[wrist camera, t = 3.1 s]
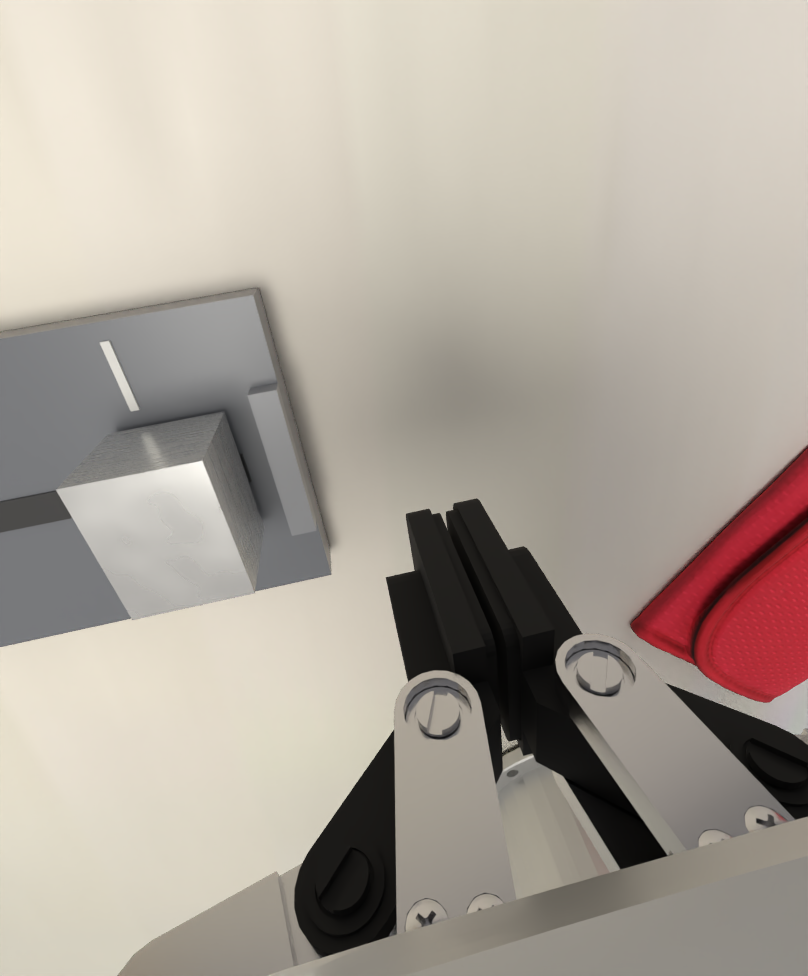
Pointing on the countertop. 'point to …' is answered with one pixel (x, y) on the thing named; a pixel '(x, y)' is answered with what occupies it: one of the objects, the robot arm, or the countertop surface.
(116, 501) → the fader knob
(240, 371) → the fader console
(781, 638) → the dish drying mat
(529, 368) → the countertop surface
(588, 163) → the countertop surface
